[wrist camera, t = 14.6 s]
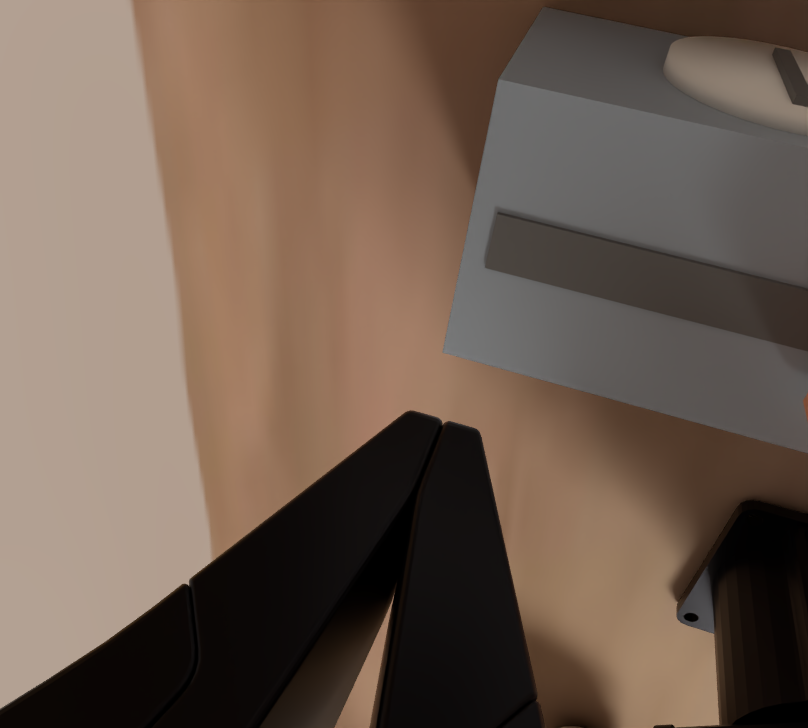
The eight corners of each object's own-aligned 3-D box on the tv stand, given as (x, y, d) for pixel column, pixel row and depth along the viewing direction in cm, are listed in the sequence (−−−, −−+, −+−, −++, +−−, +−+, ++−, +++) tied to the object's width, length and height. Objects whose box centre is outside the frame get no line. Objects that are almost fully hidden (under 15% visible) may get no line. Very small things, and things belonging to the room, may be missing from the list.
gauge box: (857, 325, 20) (916, 486, 15) (491, 233, 21) (441, 355, 16) (1014, 74, 16) (1161, 189, 11) (549, -20, 17) (504, 47, 12)
